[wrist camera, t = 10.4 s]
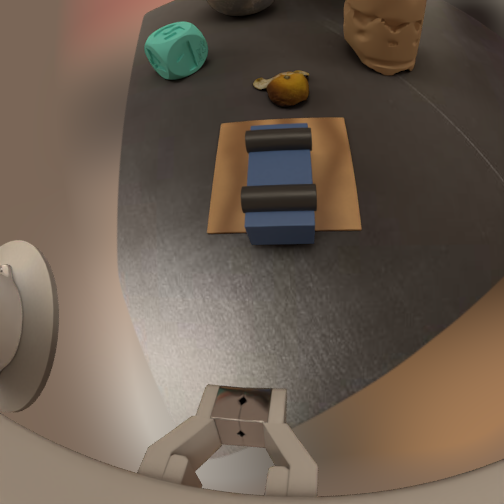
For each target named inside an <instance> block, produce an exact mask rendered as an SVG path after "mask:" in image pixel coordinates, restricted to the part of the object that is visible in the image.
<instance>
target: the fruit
mask: <svg viewBox="0 0 504 504" xmlns="http://www.w3.org/2000/svg"><path fill="white" fill-rule="evenodd" d="M304 75H307V76H306V77H308V76H309V74H308V73H307V72H303V71H295V72H284V73H280V74H278V75H276V76H274V77H273V78H271V79H268V80H265V79H263V78H259V79H257V80H256V81H255V82H254V83H253V86H254V87H256V88H257V89H260V90H261V89H264V88H267V92H268V97H269V99H271V101H272V102H273V103H274V104H276V105H277V106H280V107H288V106H292V105H295V104H296V103H298V102H300V101H303V100H306V99H307V97H308V94H309V85H308V81H307V79H306V77H304Z"/></svg>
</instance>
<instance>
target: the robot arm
mask: <svg viewBox="0 0 504 504" xmlns="http://www.w3.org/2000/svg"><path fill="white" fill-rule="evenodd" d="M22 329H23V305H22V299H21V295H20V292H19V290H18V288H17V286H16V284H15V282H14V278H13V270H12V267H11V266H10V265H7V264H4V265H1V266H0V374H1V372H2V370H3V369H5V368H6V367H7V366H8V365H9V364H10V363H11V362H12V360H13V359H14V357H15V355H16V353H17V350H18V348H19V344H20V341H21V336H22ZM286 411H287V390H286V389H275V388H247V387H246V388H242V387H231V386H220V385H210V384H208V385H207V386H206V387H205V390H204V393H203V396H202V399H201V402H200V405H199V408H198V411H197V414H196V416H191V417H190V418H189V419H187V420H186V421H184V422H183V423H182V424H180V425H179V426H178V427H176V428H175V429H174V430H172V431H171V432H169V433H168V434H167V435H165V436H164V437H163V438H161V439H160V440H158V441H157V442H155V443H154V444H152V445H151V446H149V447H148V449H147V451H146V453H145V456H144V458H143V460H142V463H141V465H140V468H139V470H138V472H137V473H134V472H131V471H128V470H124V469H121V468H118V467H115V466H112V465H109V464H106V463H103V462H101V461H98V460H96V459H93V458H90V457H88V456H85V455H82V454H80V453H78V452H75V451H73V450H70V449H68V448H66V447H64V446H61V445H59V444H57V443H55V442H53V441H51V440H49V439H47V438H44V437H43V436H40V435H38V434H37V433H35V432H32V431H31V430H29V429H27V428H25V427H23V426H22V425H20V424H18V423H16V422H15V421H13V420H11V419H9V418H8V417H6V416H4V415H3V414H1V413H0V504H504V459H502V460H500V461H497V462H495V463H492V464H489V465H486V466H484V467H481V468H478V469H475V470H472V471H469V472H466V473H462V474H459V475H456V476H453V477H449V478H445V479H441V480H437V481H433V482H429V483H424V484H420V485H415V486H411V487H405V488H400V489H393V490H387V491H380V492H372V493H364V494H354V495H341V496H321V497H317V489H318V465H317V464H316V462H315V461H314V460H313V458H312V457H311V456H310V454H309V453H308V452H307V450H306V449H305V447H304V446H303V445H302V443H301V442H300V440H299V439H298V438H297V436H296V435H295V433H294V432H293V431H292V429H291V428H290V426H289V425H288V423H286ZM222 444H225V445H238V446H250V447H262V448H266V450H267V452H268V453H269V456H270V457H271V459H272V461H273V463H274V465H275V466H272V467H271V468H269V469H268V475H267V482H266V488H265V494H264V495H249V494H240V493H231V492H223V491H216V490H210V489H204V488H202V484H201V482H200V480H199V478H198V477H197V475H196V473H195V471H196V470H197V469H198V468H199V467H200V466H201V465H202V464H203V463H204V462H206V461H207V460H208V459H209V458H210V457H211V456H212V455H213V454H214V453H215V452H216V451H217V450H218V449H219V448H220V447H221V446H222Z"/></svg>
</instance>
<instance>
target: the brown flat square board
mask: <svg viewBox="0 0 504 504" xmlns="http://www.w3.org/2000/svg"><path fill="white" fill-rule="evenodd" d="M293 123H307V124H308V128H309V127H310V128H311V134H312V151H310V154H311V166H312V180H313V184H316V192H317V211H314V212H315V231H353V230H361V221H360V212H359V205H358V197H357V190H356V183H355V177H354V171H353V164H352V159H351V153H350V147H349V142H348V137H347V132H346V127H345V122H344V118H292V119H272V120H257V121H245V122H234V123H224V124H221V129H220V136H219V143H218V150H217V157H216V164H215V172H214V179H213V187H212V195H211V203H210V212H209V220H208V229H207V233H208V234H220V233H247V232H246V229H245V227H244V225H245V213H243V211H242V208H241V188H242V186H247V175H248V159H249V154H248V153H247V151H246V146H245V132H246V131H250V129H251V126H257V125H273V124H293Z"/></svg>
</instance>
